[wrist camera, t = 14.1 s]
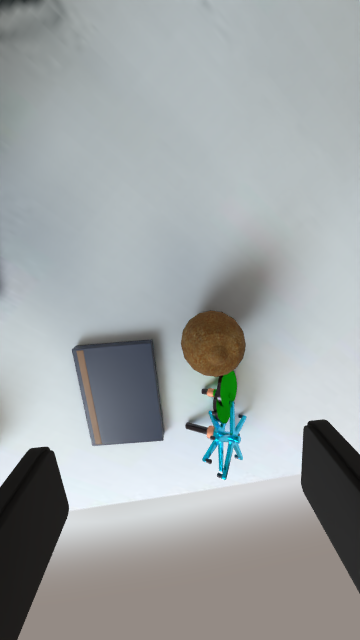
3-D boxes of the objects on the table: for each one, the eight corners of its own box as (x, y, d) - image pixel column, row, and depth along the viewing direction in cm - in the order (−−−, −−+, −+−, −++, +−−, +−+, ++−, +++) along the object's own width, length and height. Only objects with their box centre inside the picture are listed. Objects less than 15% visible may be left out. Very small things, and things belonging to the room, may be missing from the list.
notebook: (75, 345, 28) (71, 349, 27) (152, 339, 28) (150, 342, 26) (95, 439, 31) (92, 446, 30) (163, 434, 31) (163, 441, 30)
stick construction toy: (252, 461, 29) (225, 499, 23) (203, 445, 33) (168, 473, 27) (250, 362, 29) (222, 372, 23) (201, 359, 34) (166, 366, 27)
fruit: (169, 332, 27) (165, 361, 20) (206, 292, 26) (217, 306, 18) (208, 365, 28) (219, 405, 21) (246, 328, 27) (272, 355, 19)
